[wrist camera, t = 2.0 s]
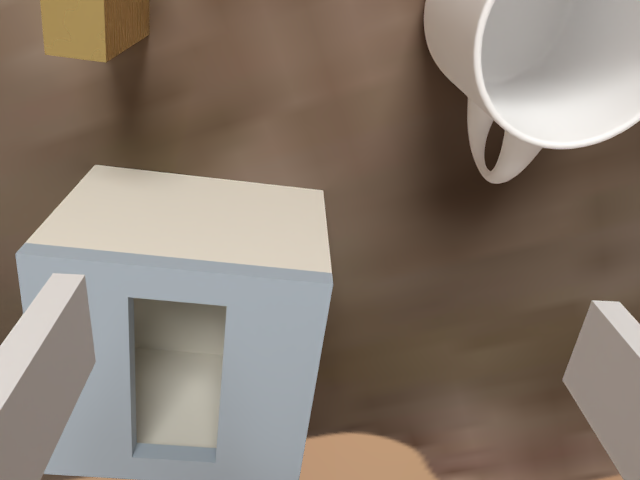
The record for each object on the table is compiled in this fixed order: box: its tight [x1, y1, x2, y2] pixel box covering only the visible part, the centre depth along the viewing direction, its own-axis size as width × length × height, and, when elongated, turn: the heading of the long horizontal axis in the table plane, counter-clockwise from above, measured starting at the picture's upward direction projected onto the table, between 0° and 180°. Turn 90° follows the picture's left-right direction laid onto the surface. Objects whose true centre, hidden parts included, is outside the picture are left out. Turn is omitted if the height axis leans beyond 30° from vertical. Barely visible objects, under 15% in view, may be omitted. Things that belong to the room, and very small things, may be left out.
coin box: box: [16, 165, 333, 480], centre depth 33 cm, size 14×14×11 cm
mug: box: [424, 0, 640, 184], centre depth 27 cm, size 9×12×11 cm
